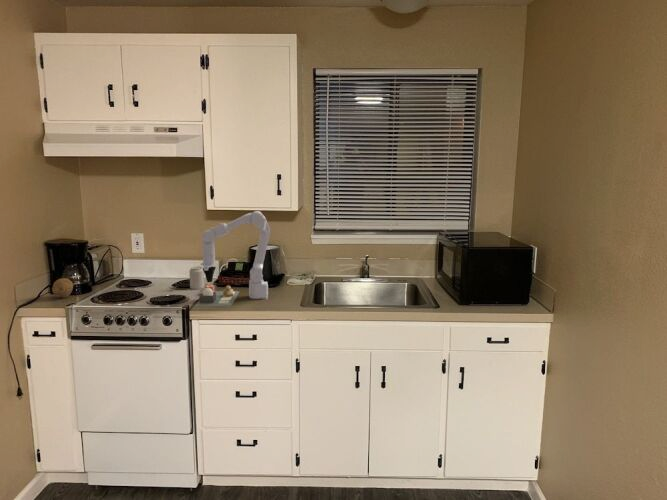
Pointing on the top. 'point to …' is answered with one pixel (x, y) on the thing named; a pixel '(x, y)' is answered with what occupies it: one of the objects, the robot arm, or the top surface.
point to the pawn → (228, 292)
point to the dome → (207, 292)
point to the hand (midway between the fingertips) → (209, 281)
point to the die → (210, 287)
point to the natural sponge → (62, 287)
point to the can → (196, 277)
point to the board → (216, 299)
